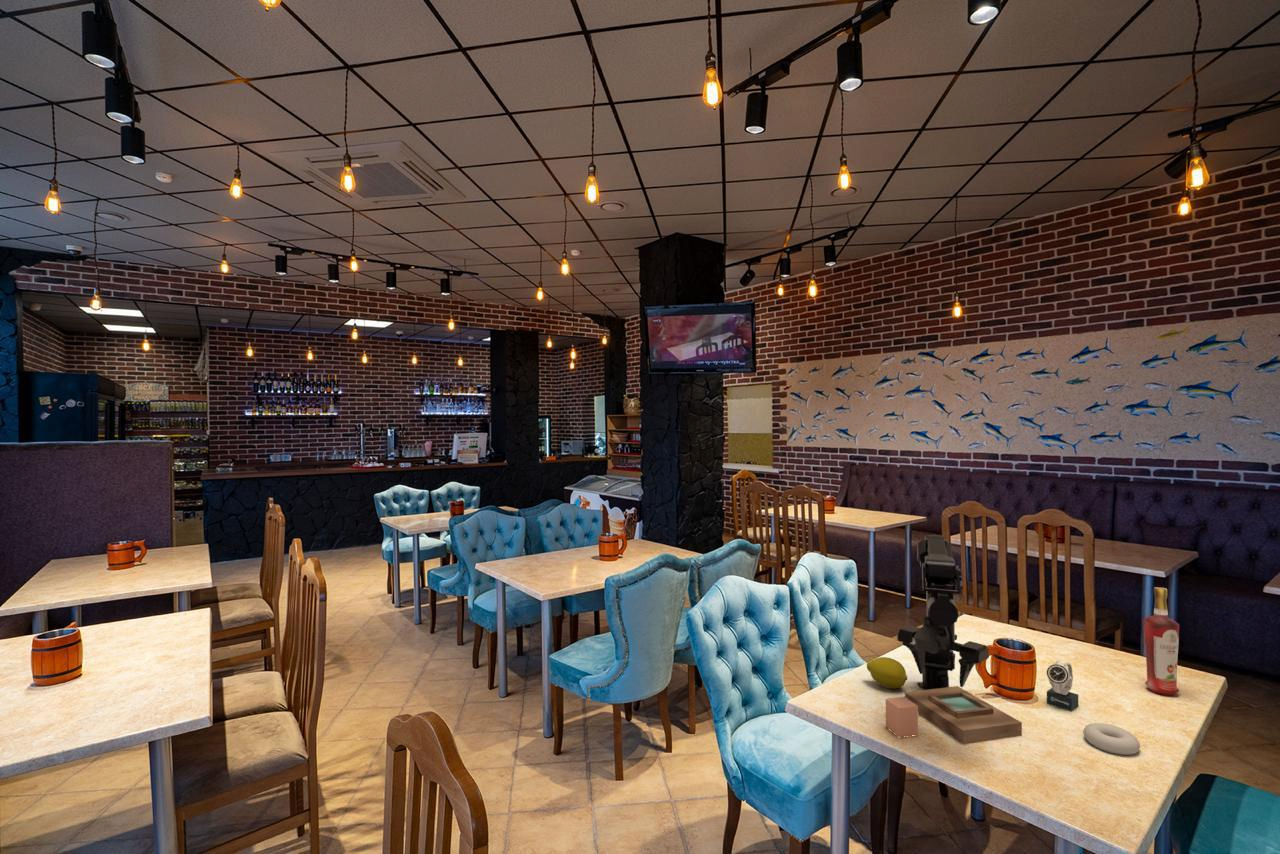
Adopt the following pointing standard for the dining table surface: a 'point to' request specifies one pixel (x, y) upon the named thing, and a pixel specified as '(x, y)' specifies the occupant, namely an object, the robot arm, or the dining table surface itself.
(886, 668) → the lemon
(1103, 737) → the donut
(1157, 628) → the liquor
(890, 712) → the terracotta block
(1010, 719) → the brown flat frame
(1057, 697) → the watch
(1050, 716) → the dining table surface
